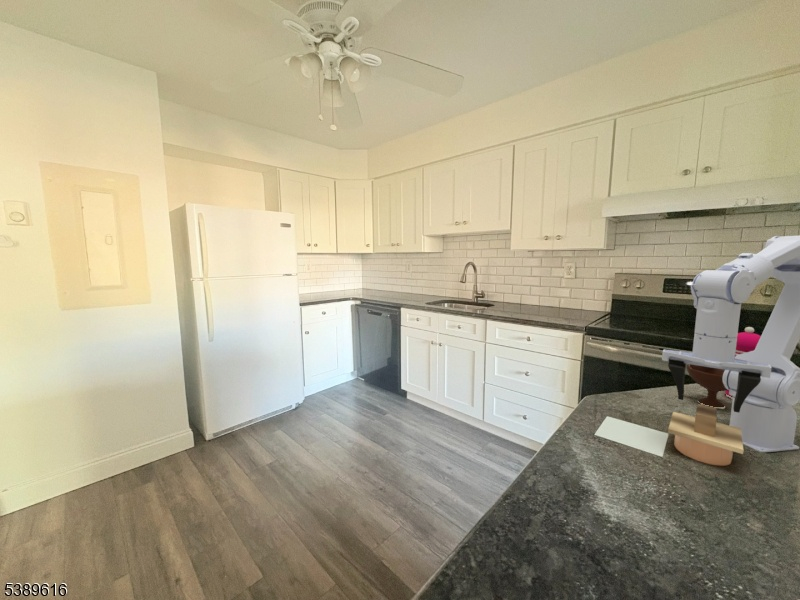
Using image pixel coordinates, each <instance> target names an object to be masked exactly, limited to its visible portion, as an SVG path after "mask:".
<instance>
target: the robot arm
mask: <svg viewBox="0 0 800 600" xmlns="http://www.w3.org/2000/svg"><path fill="white" fill-rule="evenodd" d="M771 277H773V278H774V279H776V280H778V281H780V282H783V283H784V285H783V288H782V290H781V293H780V294H779V297H778V299H777V301H776V303H775V305H774V307H773V310H772V312H771V314H770V317H769V318H768V319H767V322H766V324H765V327H764V329H763V331H762V332H761V333H762V334H761V335H760V336H761V337H760V339H759V342H758V344H757V346H756V348H755V350H754V351H751V352H747V353H743V354H740V355H737V356H735V351H736V343H737V335H738V333H739V325H740V324H739V323H740V316H741V308H742V303H746V302H747V301H748V300H749V298H750V296H751V294H752V293H753V291H754V290H755V289H756V286H758V285H760V284H762V283H763V282H765V281H767V280H768V279H770V278H771ZM690 292H691V295H692V297H693V307H694V308H695V309H696V316H695V325H694V337H693V344H692V351H684V350H682V351H681V350H671V349H663V350H662V353H661V354H662V356H661V361H665V362H668V365H667V367H668V369H669V371H670V373H671V376H672V377H673V381H674V382H675V386H676V389H677V397H678V398H677V399H678V400H680V401H683V399H684V396H685V374H686V369H687V366H686V365H689V364H693V365H699V366H705V367H711V368H717V369H724V370H725V371H724V373H723V384H724V386H725V388H726V389H727V390H729V395H732V396H733V400H732V399H731V400H732V402H731V409H730V417H729V418H730V419H729V425H730V426H734V427H738V428H741V435H742V442H743V446H746V447H749V448H750V449H753V450H755V451H757V452H758V453H759V452H760V453H772V452H781V451H783V452H784V451H792V450H794V451H795V450H799V449H800V446H799V445H796V444H795V443H794V442H795V435H796V427H797V423H798V415H797V413H796V411H795V409H794V408H793V407H794V406H795V405H797V404H798V403H799V402H800V367H799V366H797V365H796V364H795V363H794V362H793V361H791V358H792V356H793V354H794V351H795V349H796V347H797V345H798V343H799V340H800V234H799V235H786V236H785V235H784V236H782V235H775V236H772V237H771V238H769V239H767V240H766V243H765V246H764V247H763V249H761V250H760V251H759V252H758V253H753V252H742V253H740V254H739V255H738V257H737V258H735V259H733V260H732V261H729V262H727V263H724V264H721V266H720V267H718V268H716V269H714V270H712V269H706V270H703V271H702V272H699V273H697V275H696V276H695V277H694V278H693V280H692V284H690Z"/></svg>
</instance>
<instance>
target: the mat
mask: <svg viewBox="0 0 800 600" xmlns="http://www.w3.org/2000/svg"><path fill="white" fill-rule="evenodd" d="M669 435H670V433H668V432H664V431H660V430H658V429H653V428H650V427H647V426H643V425H641V424H640V425H639V424H636V423H633V422H628V421H626V420H622V419H619V418H614V417H611V416H606V417H605V419H604V420H603V421H602V423H601V425H600V426H599V427H598V429H597V430H596V431H595V433H594V436H597V437H599V438H603V439H606V440H609V441H612V442H615V443H618V444H622V445H625V446H628V447H631V448H634V449H637V450H639V451H643V452H646V453H649V454H652V455H655V456H658V457H662V458H663V456H664V453H665V449H666V445H667V441H668V439H669Z"/></svg>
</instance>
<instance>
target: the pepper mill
mask: <svg viewBox="0 0 800 600" xmlns="http://www.w3.org/2000/svg"><path fill="white" fill-rule="evenodd" d="M754 332H755V328H754V327H752V326H747V327H745V328H744V331H743V332H738V335H737V343H736V351H735V356H737V355H740V354H743V353H747V352H751V351H754V350H755V348H756V346H757V344H758V342H759V339H760V337H761V335H759V334H757V333H754ZM725 393H726V394H727V395H729V390H726V391H724V394H725ZM729 396H731V397H733V396H732V395H729Z"/></svg>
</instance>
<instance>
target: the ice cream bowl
mask: <svg viewBox="0 0 800 600" xmlns="http://www.w3.org/2000/svg"><path fill="white" fill-rule="evenodd" d="M686 371H687V373H688V375H689V376H690V377H691V378H692V380H693V381H694V382H695V383H696V384H697V385H698V386H700V387H702V388H704V389H706V391H707V396H706V397H702V398H698V399H697V400H698V401H699V402H700V403H703V404H705V405H709V406H713V407H724V406H726V405H725V404H724V403H723V402H722V401H720V400H719V399H717V396H718V393H719V392H725V391H726V390H727V389H726V388H725V386H724V384H723V373H724V371H725V370H724V369H717V368H711V367H705V366H699V365H693V364H686Z"/></svg>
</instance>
